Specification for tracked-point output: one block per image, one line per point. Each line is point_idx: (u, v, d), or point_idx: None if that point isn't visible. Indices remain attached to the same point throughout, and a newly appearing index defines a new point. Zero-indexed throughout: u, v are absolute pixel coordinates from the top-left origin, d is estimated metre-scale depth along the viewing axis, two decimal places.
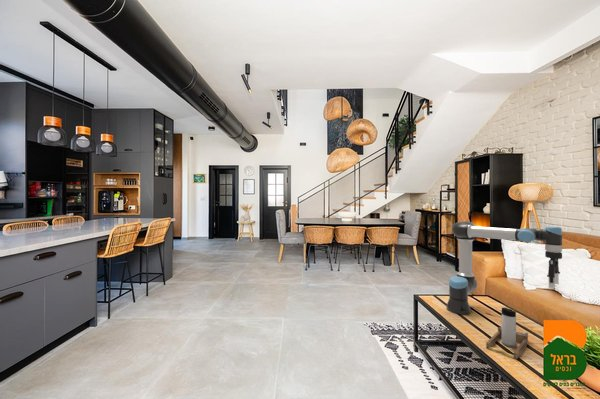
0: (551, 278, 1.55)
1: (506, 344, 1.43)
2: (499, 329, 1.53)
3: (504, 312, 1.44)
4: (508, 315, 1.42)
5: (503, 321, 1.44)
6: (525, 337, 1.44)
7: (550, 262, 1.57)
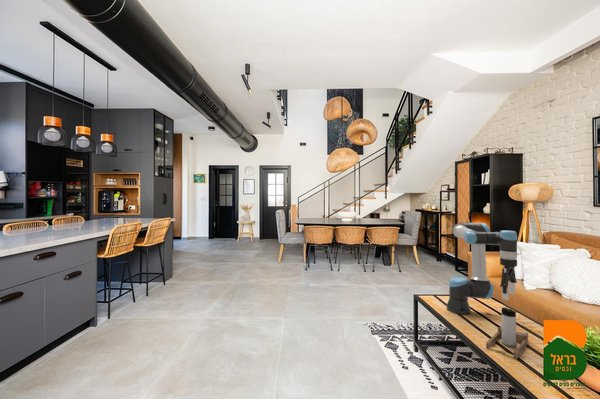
0: (504, 288, 1.39)
1: (506, 344, 1.43)
2: (499, 329, 1.53)
3: (504, 312, 1.44)
4: (508, 315, 1.42)
5: (503, 321, 1.44)
6: (525, 337, 1.44)
7: (503, 270, 1.41)
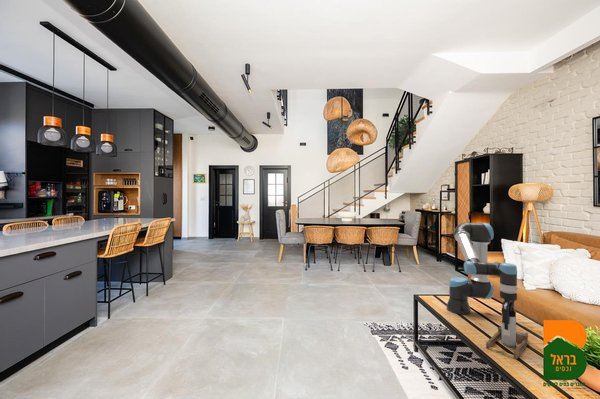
0: (506, 325, 1.41)
1: (506, 344, 1.43)
2: (499, 329, 1.53)
3: None
4: None
5: None
6: (525, 337, 1.44)
7: (503, 307, 1.41)
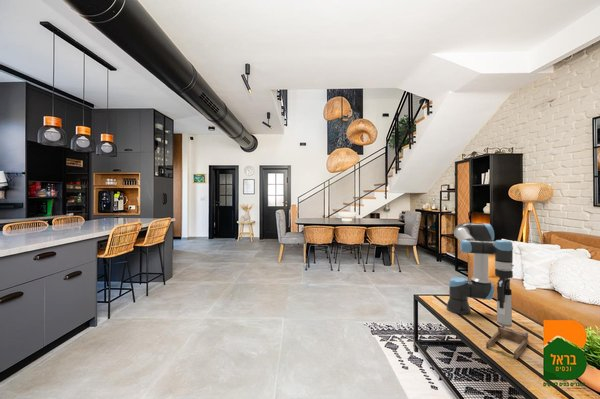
0: (501, 303, 1.36)
1: (501, 323, 1.38)
2: (499, 329, 1.53)
3: None
4: None
5: None
6: (525, 337, 1.44)
7: (498, 285, 1.36)
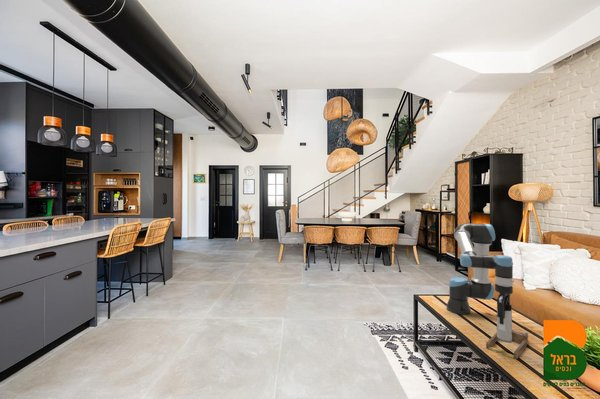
0: (501, 319, 1.36)
1: (501, 339, 1.37)
2: None
3: None
4: None
5: None
6: (525, 337, 1.44)
7: (498, 300, 1.36)
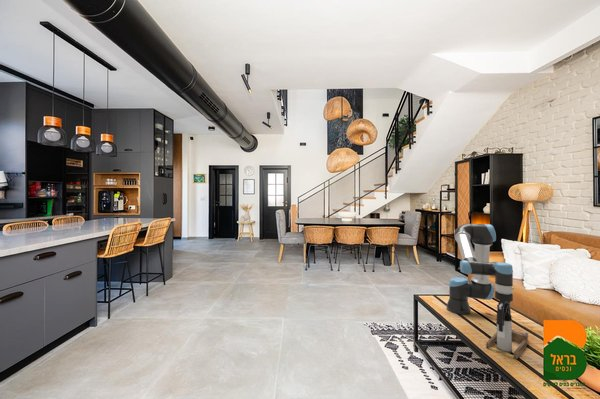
0: (500, 326, 1.35)
1: (501, 349, 1.37)
2: None
3: None
4: None
5: None
6: (525, 337, 1.44)
7: (498, 307, 1.36)
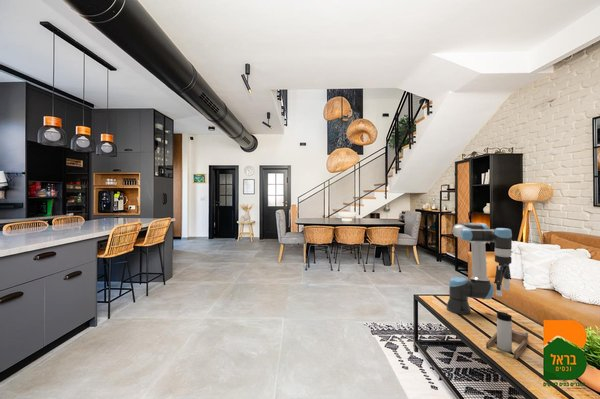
0: (498, 285, 1.42)
1: (501, 349, 1.37)
2: None
3: (499, 316, 1.39)
4: (503, 320, 1.37)
5: (498, 325, 1.39)
6: (525, 337, 1.44)
7: (497, 268, 1.43)
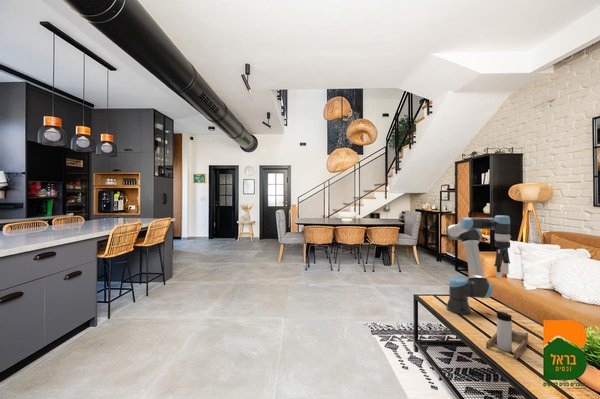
0: (498, 267, 1.53)
1: (501, 349, 1.37)
2: None
3: (499, 316, 1.39)
4: (503, 320, 1.37)
5: (498, 325, 1.39)
6: (525, 337, 1.44)
7: (497, 251, 1.55)
